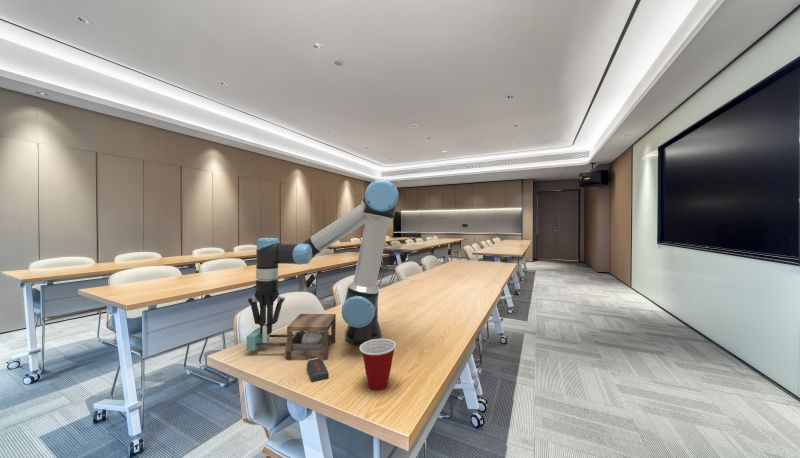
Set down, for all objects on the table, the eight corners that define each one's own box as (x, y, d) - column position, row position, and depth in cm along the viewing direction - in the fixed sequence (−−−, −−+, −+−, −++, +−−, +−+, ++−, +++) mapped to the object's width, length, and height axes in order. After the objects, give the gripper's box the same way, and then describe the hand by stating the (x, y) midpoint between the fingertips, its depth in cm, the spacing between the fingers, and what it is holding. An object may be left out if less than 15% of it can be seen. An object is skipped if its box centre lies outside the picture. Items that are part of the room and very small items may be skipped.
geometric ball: (310, 355, 109) (314, 334, 114) (325, 352, 106) (328, 330, 111) (294, 351, 104) (299, 329, 109) (309, 347, 101) (313, 325, 106)
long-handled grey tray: (328, 343, 114) (328, 326, 114) (321, 357, 101) (321, 338, 101) (259, 343, 113) (260, 326, 113) (243, 357, 100) (244, 338, 100)
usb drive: (311, 383, 85) (311, 374, 85) (305, 366, 96) (305, 358, 96) (328, 380, 88) (328, 371, 88) (320, 363, 98) (321, 355, 98)
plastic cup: (359, 375, 90) (360, 337, 90) (394, 375, 90) (394, 337, 90) (357, 396, 79) (358, 352, 79) (396, 394, 80) (397, 351, 80)
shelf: (335, 342, 115) (335, 313, 115) (327, 359, 100) (327, 327, 100) (300, 342, 115) (300, 313, 115) (286, 360, 99) (287, 326, 99)
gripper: (288, 277, 111) (287, 338, 111) (254, 277, 110) (252, 338, 110) (281, 281, 103) (279, 346, 103) (244, 280, 103) (243, 346, 103)
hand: (265, 342), depth 107 cm, fingers closed
